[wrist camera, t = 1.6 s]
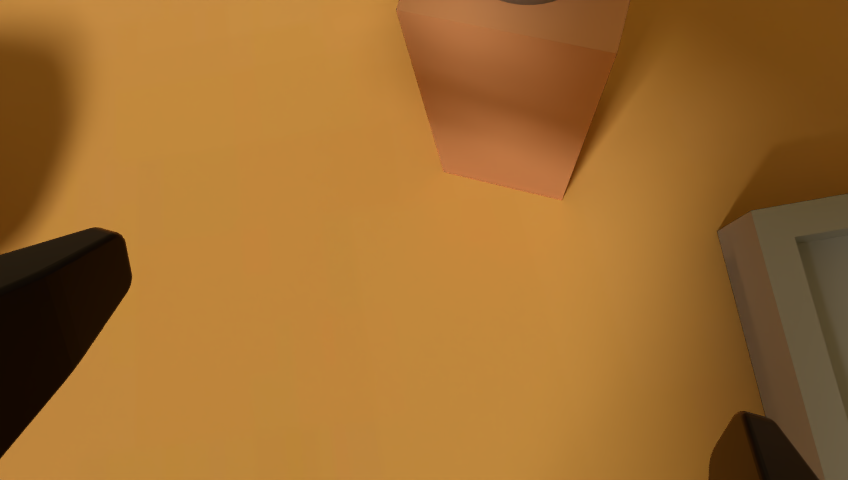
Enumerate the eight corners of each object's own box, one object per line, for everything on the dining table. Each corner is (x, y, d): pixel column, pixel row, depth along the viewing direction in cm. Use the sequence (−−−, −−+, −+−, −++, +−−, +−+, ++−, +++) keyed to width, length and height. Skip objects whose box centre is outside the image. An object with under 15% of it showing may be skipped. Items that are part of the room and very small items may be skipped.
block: (561, 200, 23) (625, 32, 11) (443, 171, 23) (389, -14, 12) (590, 88, 23) (677, -180, 12) (474, 63, 24) (451, -211, 13)
